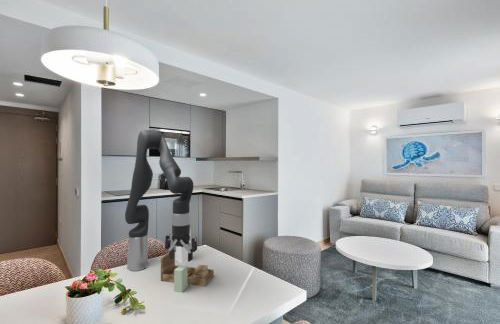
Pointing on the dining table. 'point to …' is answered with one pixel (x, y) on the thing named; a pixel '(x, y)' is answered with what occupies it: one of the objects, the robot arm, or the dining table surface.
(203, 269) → the offcut
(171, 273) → the rack
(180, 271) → the pale green block
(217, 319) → the dining table surface
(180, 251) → the milk
